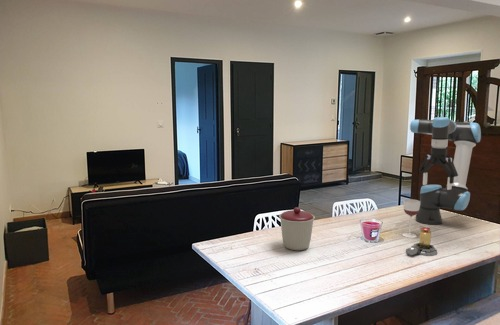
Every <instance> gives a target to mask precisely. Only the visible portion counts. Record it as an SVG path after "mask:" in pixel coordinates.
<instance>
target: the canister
mask: <svg viewBox="0 0 500 325" xmlns="http://www.w3.org/2000/svg"><path fill="white" fill-rule="evenodd" d="M278 217H279V219H280V226H281V236H282V238H281V239H282V242H283V245H284V247H285V248H286V249H288V250H291V251H303V250H307V249H308V248H309V247H310V243H311V241H312V240H311V239H312V233H313V225H314V220H315V218H316V217H315V215H313V214H312V213H311V212H310V211H306V210H301V208H300V207H299V206H298V207H297V206H296V207H294V208H293V209H292V210H286V211H284V212H282V213H280V214H279V215H278Z"/></svg>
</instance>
